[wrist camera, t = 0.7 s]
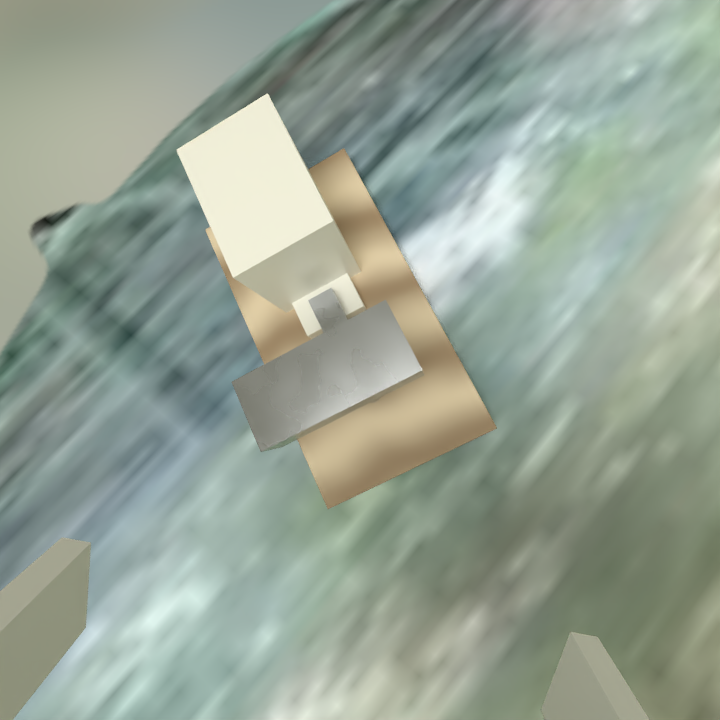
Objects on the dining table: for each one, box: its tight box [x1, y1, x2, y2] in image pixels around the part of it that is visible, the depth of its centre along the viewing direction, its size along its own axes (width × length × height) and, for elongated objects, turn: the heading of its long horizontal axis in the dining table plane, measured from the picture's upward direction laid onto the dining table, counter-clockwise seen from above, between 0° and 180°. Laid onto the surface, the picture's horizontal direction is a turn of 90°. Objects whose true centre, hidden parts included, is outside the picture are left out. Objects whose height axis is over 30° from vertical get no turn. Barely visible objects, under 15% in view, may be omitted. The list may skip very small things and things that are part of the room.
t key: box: [232, 288, 424, 452], centre depth 25 cm, size 10×8×13 cm
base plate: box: [206, 149, 497, 509], centre depth 34 cm, size 26×14×2 cm, turn 28°
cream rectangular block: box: [177, 93, 367, 339], centre depth 29 cm, size 13×7×9 cm, turn 28°
